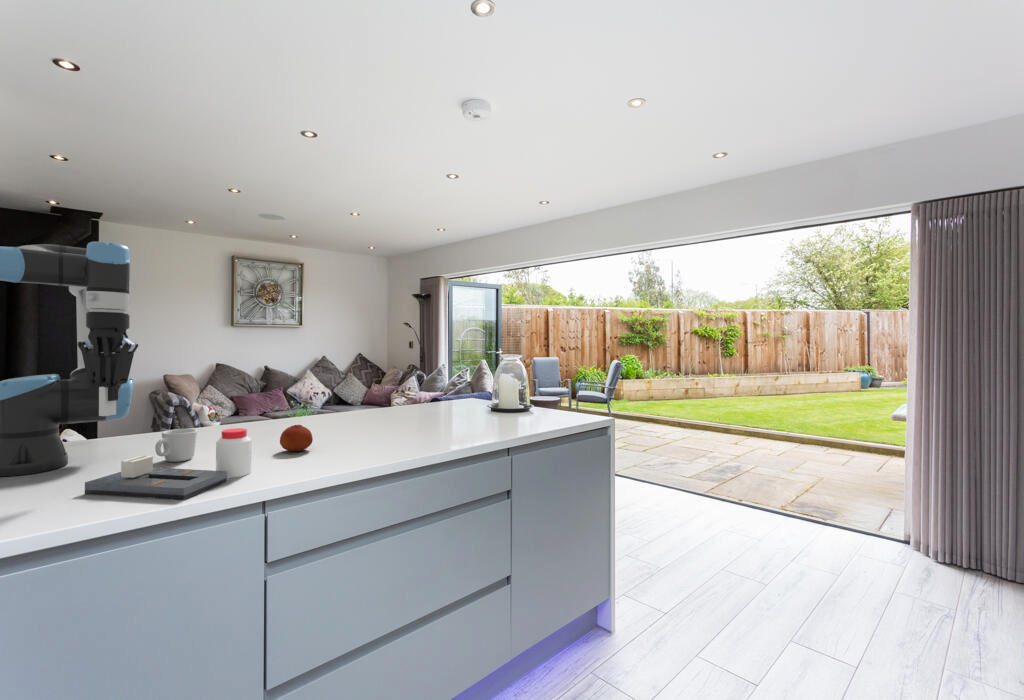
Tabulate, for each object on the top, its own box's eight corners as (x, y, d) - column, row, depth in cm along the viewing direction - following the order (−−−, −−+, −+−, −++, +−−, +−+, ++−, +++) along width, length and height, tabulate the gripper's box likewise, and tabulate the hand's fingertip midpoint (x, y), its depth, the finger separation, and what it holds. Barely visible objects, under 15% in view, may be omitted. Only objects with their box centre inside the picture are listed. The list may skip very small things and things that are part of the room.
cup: (169, 467, 123) (169, 436, 123) (144, 465, 125) (144, 434, 125) (203, 457, 134) (204, 429, 134) (180, 455, 135) (180, 427, 135)
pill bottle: (257, 469, 123) (257, 427, 123) (241, 478, 115) (241, 433, 115) (226, 469, 123) (227, 427, 123) (208, 478, 115) (209, 433, 115)
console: (84, 494, 102) (84, 481, 102) (138, 476, 115) (138, 466, 115) (183, 500, 99) (184, 487, 99) (227, 481, 112) (227, 470, 112)
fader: (119, 483, 105) (119, 460, 105) (138, 477, 110) (139, 455, 110) (135, 484, 105) (135, 461, 105) (154, 477, 110) (154, 456, 110)
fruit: (273, 453, 141) (273, 426, 140) (293, 447, 149) (293, 421, 149) (298, 455, 138) (299, 428, 138) (318, 449, 147) (318, 423, 147)
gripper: (65, 310, 104) (64, 416, 105) (119, 311, 103) (118, 418, 103) (98, 312, 112) (97, 411, 112) (148, 313, 111) (148, 413, 111)
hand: (107, 415), depth 108 cm, fingers closed
